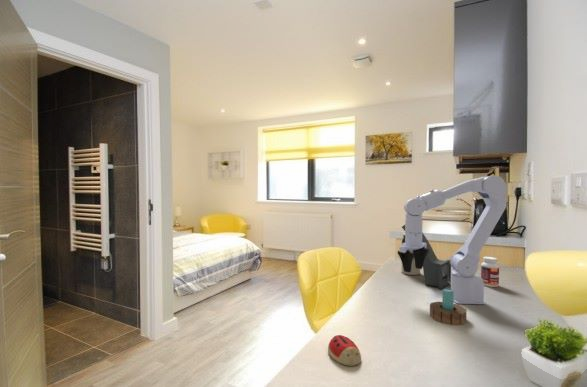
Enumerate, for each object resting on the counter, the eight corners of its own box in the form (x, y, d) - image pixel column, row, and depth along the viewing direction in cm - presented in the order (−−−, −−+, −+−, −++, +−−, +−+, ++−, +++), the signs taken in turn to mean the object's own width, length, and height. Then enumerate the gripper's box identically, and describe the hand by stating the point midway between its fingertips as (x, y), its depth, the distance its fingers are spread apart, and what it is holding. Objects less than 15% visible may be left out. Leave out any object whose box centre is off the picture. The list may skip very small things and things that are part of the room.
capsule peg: (450, 315, 93) (450, 289, 92) (455, 319, 90) (455, 292, 89) (440, 315, 93) (440, 289, 92) (445, 319, 90) (445, 292, 90)
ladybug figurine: (342, 371, 64) (342, 354, 64) (320, 348, 73) (321, 333, 73) (368, 364, 67) (368, 348, 67) (344, 343, 76) (345, 329, 76)
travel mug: (404, 269, 145) (404, 232, 145) (421, 272, 141) (422, 233, 140) (399, 273, 139) (399, 234, 139) (417, 276, 134) (418, 235, 134)
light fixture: (410, 275, 136) (410, 221, 135) (451, 284, 124) (452, 224, 123) (399, 280, 128) (399, 223, 128) (442, 290, 116) (443, 226, 116)
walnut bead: (456, 311, 96) (456, 302, 96) (473, 325, 86) (473, 314, 86) (425, 310, 96) (425, 301, 96) (438, 324, 86) (438, 313, 86)
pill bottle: (492, 288, 119) (492, 260, 119) (477, 283, 125) (477, 256, 124) (502, 286, 121) (502, 258, 121) (487, 282, 127) (487, 255, 127)
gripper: (414, 229, 117) (413, 264, 117) (392, 232, 108) (391, 270, 108) (432, 231, 111) (431, 268, 111) (410, 235, 102) (409, 275, 102)
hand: (413, 270), depth 109 cm, fingers open, 7 cm apart
